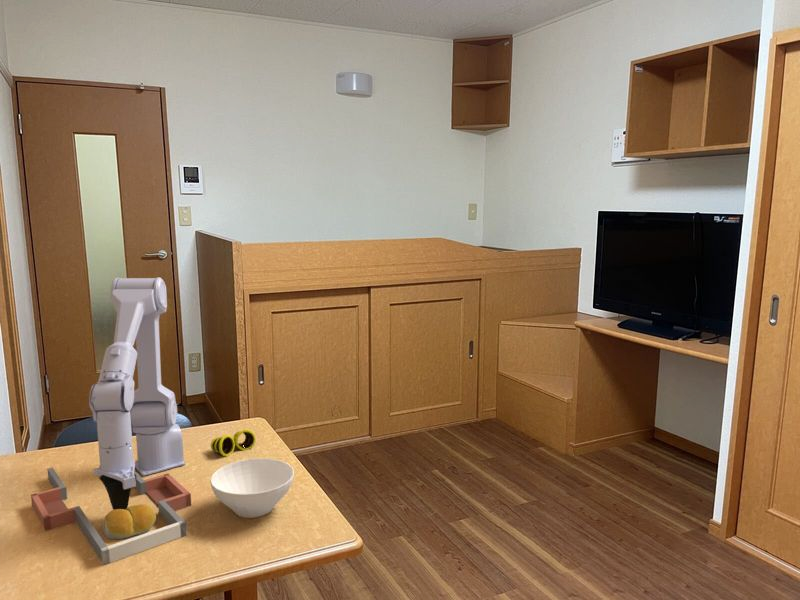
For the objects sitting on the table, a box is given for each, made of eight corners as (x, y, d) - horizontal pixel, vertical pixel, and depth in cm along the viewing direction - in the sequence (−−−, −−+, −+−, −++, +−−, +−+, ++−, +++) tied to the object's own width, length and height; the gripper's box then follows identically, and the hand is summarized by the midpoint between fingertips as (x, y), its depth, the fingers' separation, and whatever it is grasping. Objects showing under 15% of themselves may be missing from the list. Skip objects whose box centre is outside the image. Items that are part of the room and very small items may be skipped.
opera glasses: (246, 445, 151) (244, 426, 151) (257, 447, 148) (254, 427, 147) (210, 456, 145) (208, 436, 145) (221, 459, 141) (218, 438, 141)
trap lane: (139, 456, 142) (138, 446, 142) (212, 525, 112) (212, 513, 111) (21, 486, 127) (20, 475, 126) (70, 577, 96) (68, 562, 96)
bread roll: (161, 530, 111) (160, 510, 110) (108, 545, 105) (106, 524, 105) (150, 511, 117) (148, 492, 117) (99, 525, 112) (98, 505, 111)
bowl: (241, 539, 107) (240, 503, 106) (196, 509, 118) (194, 475, 117) (311, 507, 119) (310, 474, 118) (264, 482, 130) (263, 451, 129)
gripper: (81, 436, 115) (87, 502, 117) (103, 461, 104) (109, 533, 106) (120, 427, 120) (125, 491, 122) (145, 450, 109) (149, 519, 111)
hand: (120, 510), depth 114 cm, fingers closed
